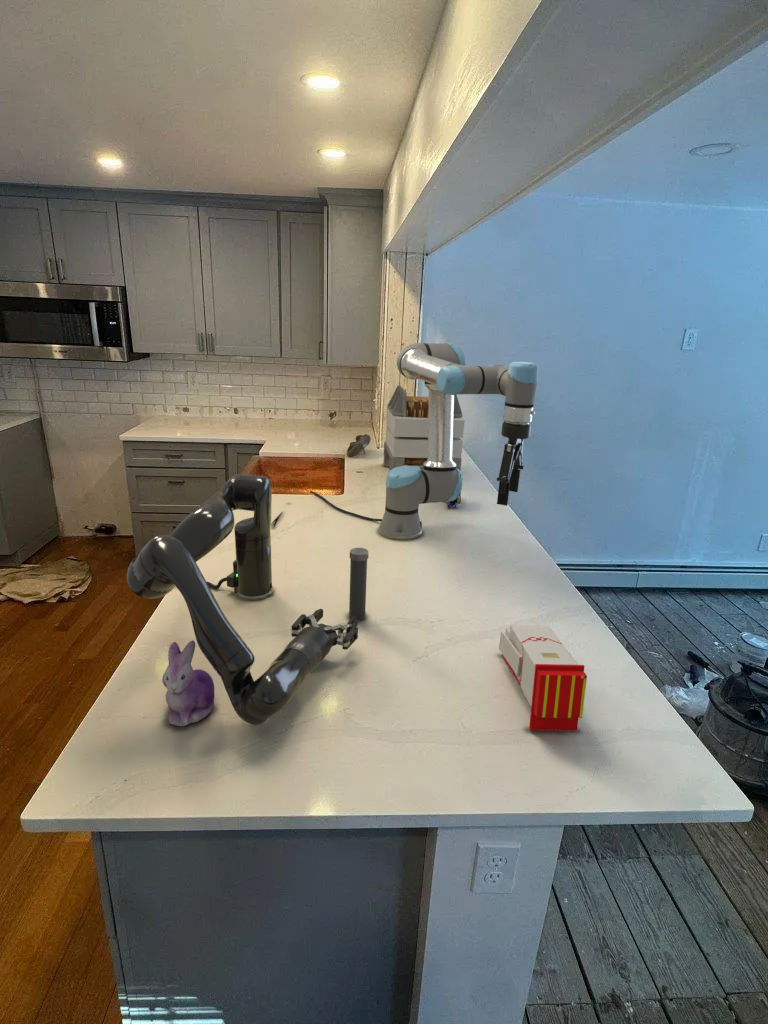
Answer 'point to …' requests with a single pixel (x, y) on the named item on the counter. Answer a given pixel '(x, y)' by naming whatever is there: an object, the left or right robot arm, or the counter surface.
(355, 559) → the lid
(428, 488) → the right robot arm
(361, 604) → the dark gray cylinder
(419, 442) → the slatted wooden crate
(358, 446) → the fossil
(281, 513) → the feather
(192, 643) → the figurine
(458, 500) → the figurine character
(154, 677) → the counter surface
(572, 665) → the toy
